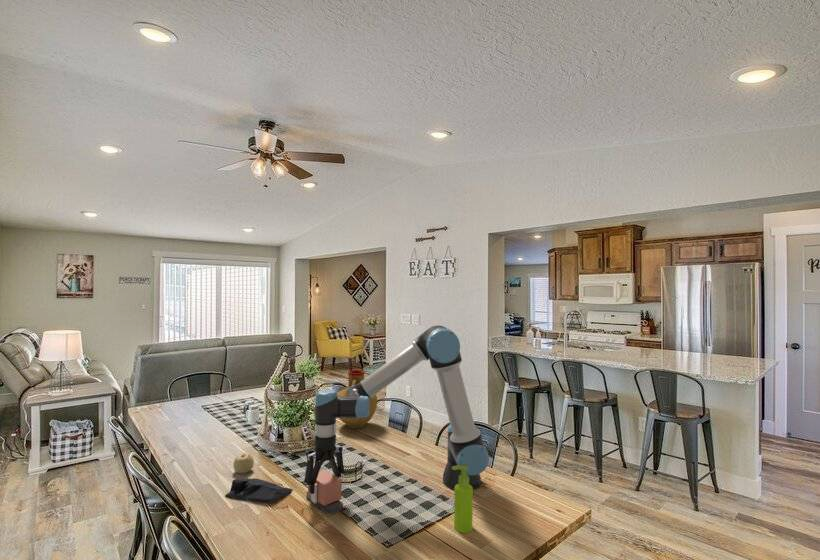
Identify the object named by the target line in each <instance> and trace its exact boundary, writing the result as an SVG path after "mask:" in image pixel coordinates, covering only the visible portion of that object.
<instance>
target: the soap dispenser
mask: <svg viewBox="0 0 820 560" xmlns="http://www.w3.org/2000/svg"><path fill="white" fill-rule="evenodd" d="M452 469H453V470H459V469H461V475H459V484H457V485H455V489H454V503H453V504H454V505H453V506H454V509H453V510H454V512H453V513H454V514H453V516H454V517H453V522H454V523H453V528H454V530H456V532H458V533H462V534H463V533H464V534H465V533H470V532H471V531H472V530H473V511H474V510H473V504H474V503H473V500H474V499H473V497H474V496H473V495H474V493H473V491H474V489H473V487H472V486H471V485H469V476H468V475H466V473H467V470H469V468H468V466H467V465H456V466H452Z"/></svg>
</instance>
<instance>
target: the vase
mask: <svg viewBox="0 0 820 560" xmlns="http://www.w3.org/2000/svg"><path fill="white" fill-rule="evenodd" d="M365 373H366V372H365V371H364V370H361V369H359V370H358V369H355V370H349V371H347V375H348V387H345V388H343V389H342V390H340V391H339V392H337V393H336V394H337V396H341V397H343V396H345V394H346V392H347V390H348V389H349V388H350V387H351V386H354V385H357V384H358V383H360V382H361V381H362V380H364V379H365ZM377 406H378V396H377V394H376V395H374V396H373V397H371V398H370V399H369V416H368V417H364V418H339V420H340V421H341V422H342V423H343V424H344V425H346V426H347V428H350V429H359V428H363V427H364V426H365V425H366V424H367V423H369V422H370V420H372V418H373V417H374V415H375V414H376V410H377V408H378V407H377Z"/></svg>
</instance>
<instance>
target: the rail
mask: <svg viewBox="0 0 820 560" xmlns="http://www.w3.org/2000/svg"><path fill="white" fill-rule="evenodd" d="M306 499H308V500H310V501H311V496H310V495H309V494H308V490H306ZM314 505H317V506H318V507H319V508H320V509H321V510H323V511H324V512H326V513H327V514H329V515H334V514H336V513H338V512H341V511H344V502H342V501H341V500H338V501H335V502H333V503H330V504H328V505H325V506H324V505H323V504H321V503H320V502H318V501H317V503H314Z"/></svg>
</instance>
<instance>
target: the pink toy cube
mask: <svg viewBox="0 0 820 560" xmlns="http://www.w3.org/2000/svg"><path fill="white" fill-rule="evenodd" d="M342 480H343V479H342V478H341V477H337V476H335V475H334V473H333V472H332V473H331V472H330V471H328V470H327V469H326V468H325V469H322V470H321V469H320V471H319V474H318V477H317V480H316V484H317V501H318V502H320V503H321V504H323V505H324V506H325V505H328V504H330V503H333V502H335V501H338V500H339V501H341V500H342V488H343V487H342V485H343V484H342ZM307 491H308V494H309V495H310V496H311V493H310V492H309V485H308V484H307Z"/></svg>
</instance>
